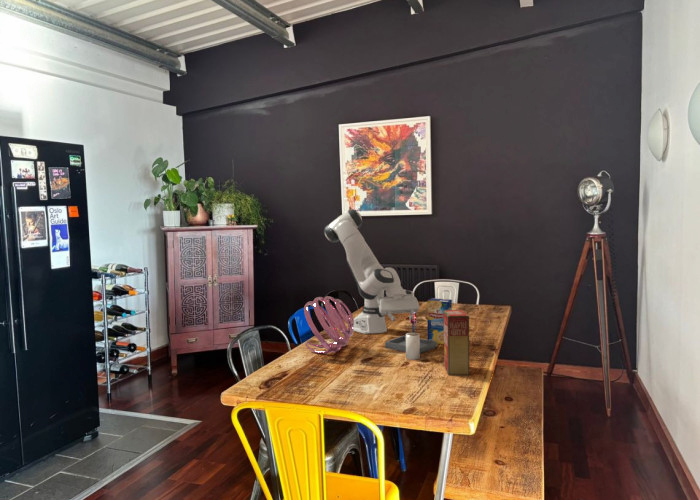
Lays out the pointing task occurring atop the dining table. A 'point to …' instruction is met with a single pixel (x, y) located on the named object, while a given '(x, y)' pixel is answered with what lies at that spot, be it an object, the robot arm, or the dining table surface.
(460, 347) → the food packaging
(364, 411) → the dining table surface
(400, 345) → the tray
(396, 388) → the dining table surface
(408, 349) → the cup
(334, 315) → the spiral basket
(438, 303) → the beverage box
